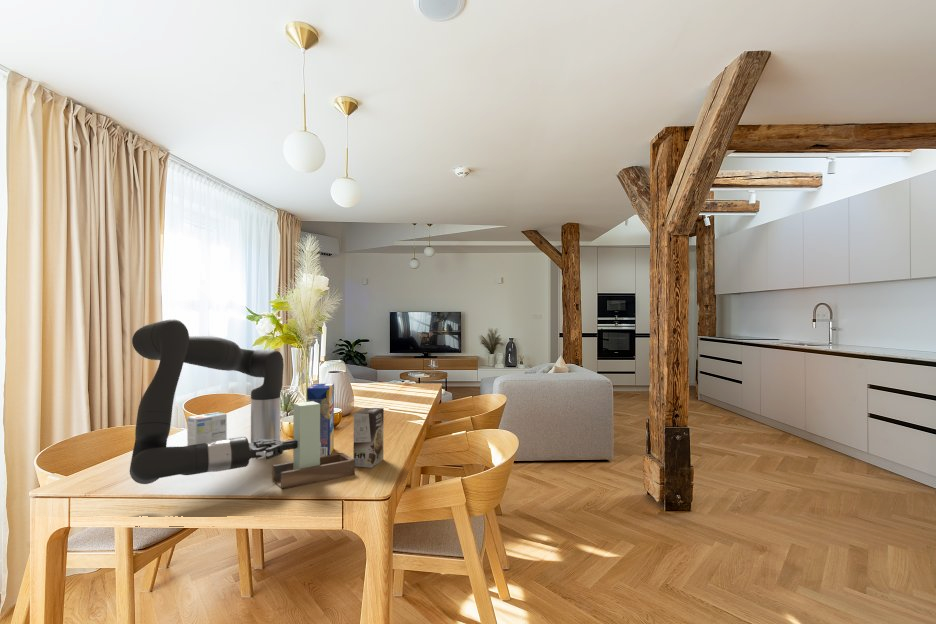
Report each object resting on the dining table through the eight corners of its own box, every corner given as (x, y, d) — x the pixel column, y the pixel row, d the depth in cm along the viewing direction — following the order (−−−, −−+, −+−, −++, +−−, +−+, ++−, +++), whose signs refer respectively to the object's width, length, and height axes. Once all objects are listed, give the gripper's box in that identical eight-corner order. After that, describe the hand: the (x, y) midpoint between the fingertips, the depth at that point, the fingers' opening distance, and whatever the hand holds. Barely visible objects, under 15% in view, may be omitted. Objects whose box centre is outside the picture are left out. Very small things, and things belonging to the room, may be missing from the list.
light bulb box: (217, 441, 174) (217, 411, 174) (227, 444, 170) (227, 413, 170) (186, 448, 165) (186, 416, 166) (195, 451, 161) (196, 418, 162)
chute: (272, 479, 133) (272, 465, 133) (341, 466, 145) (341, 452, 145) (282, 489, 126) (282, 473, 126) (354, 474, 138) (354, 460, 138)
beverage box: (333, 448, 165) (333, 383, 165) (329, 457, 154) (329, 388, 154) (312, 449, 164) (313, 383, 164) (306, 458, 153) (306, 388, 153)
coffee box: (372, 468, 144) (373, 413, 144) (352, 466, 145) (352, 412, 145) (384, 459, 153) (384, 407, 153) (365, 458, 154) (365, 406, 154)
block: (293, 475, 135) (293, 403, 135) (312, 471, 138) (313, 401, 138) (299, 481, 130) (300, 406, 131) (319, 476, 134) (320, 403, 134)
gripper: (232, 445, 117) (304, 434, 128) (221, 434, 128) (289, 425, 138) (232, 476, 117) (304, 463, 127) (221, 463, 128) (289, 452, 138)
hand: (296, 443), depth 133 cm, fingers closed
